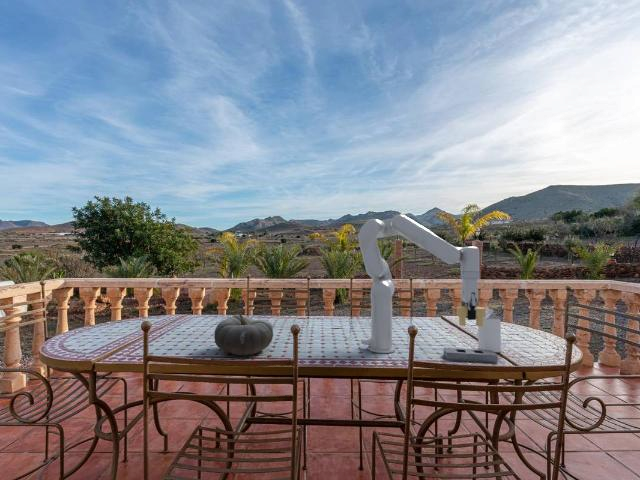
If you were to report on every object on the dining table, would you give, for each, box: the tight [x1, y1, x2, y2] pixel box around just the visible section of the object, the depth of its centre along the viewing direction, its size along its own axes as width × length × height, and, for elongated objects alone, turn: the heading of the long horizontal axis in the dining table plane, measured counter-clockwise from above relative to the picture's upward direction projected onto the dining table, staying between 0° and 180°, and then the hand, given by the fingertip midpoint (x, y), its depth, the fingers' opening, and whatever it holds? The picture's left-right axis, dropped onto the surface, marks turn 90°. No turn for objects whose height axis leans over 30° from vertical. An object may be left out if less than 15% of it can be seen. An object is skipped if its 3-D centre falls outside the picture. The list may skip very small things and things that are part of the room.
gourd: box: [213, 312, 274, 357], centre depth 163 cm, size 25×25×17 cm
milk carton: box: [477, 307, 502, 353], centre depth 169 cm, size 7×7×19 cm
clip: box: [456, 306, 485, 327], centre depth 157 cm, size 11×3×8 cm, turn 81°
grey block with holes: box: [443, 347, 499, 364], centre depth 156 cm, size 20×8×3 cm, turn 81°
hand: (470, 318), depth 157 cm, fingers closed on clip, 3 cm apart
